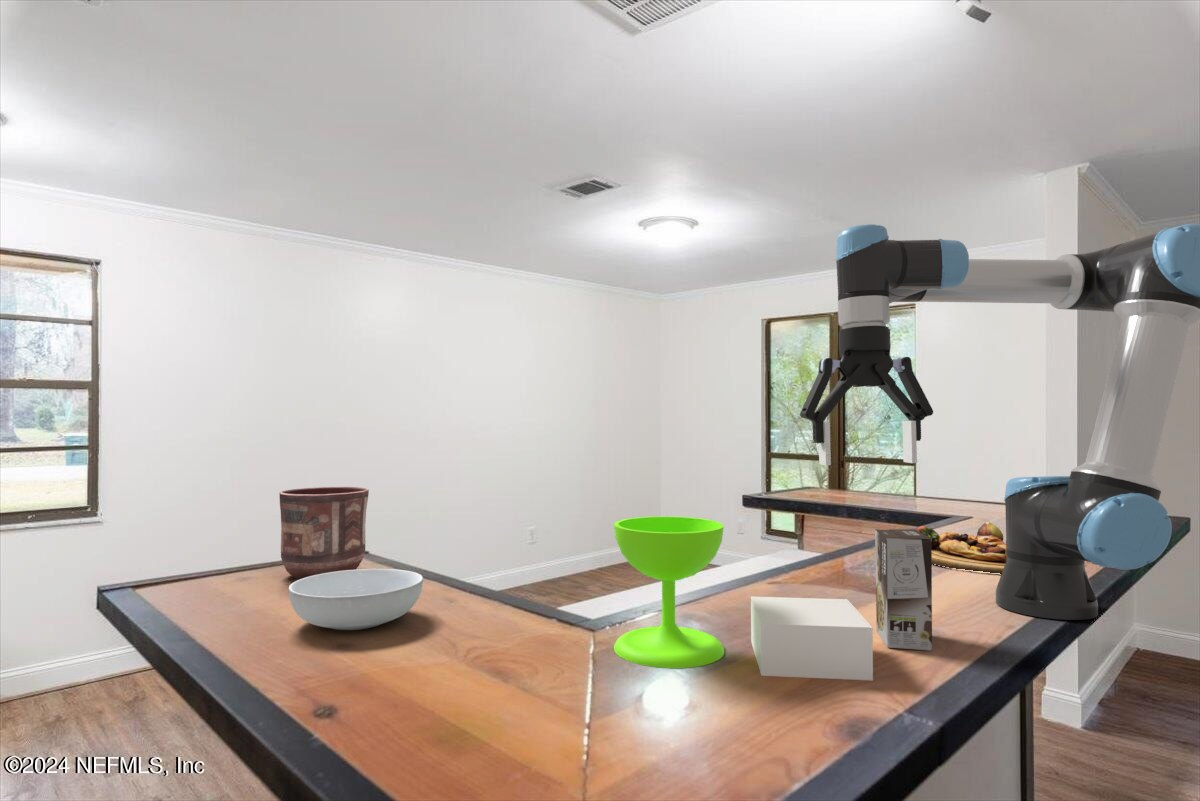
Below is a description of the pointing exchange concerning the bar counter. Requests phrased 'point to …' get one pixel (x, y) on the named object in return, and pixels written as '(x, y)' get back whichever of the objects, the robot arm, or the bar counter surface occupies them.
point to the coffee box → (904, 588)
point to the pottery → (322, 529)
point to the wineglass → (668, 587)
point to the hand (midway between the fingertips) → (867, 463)
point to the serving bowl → (355, 597)
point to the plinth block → (811, 638)
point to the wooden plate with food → (969, 549)
